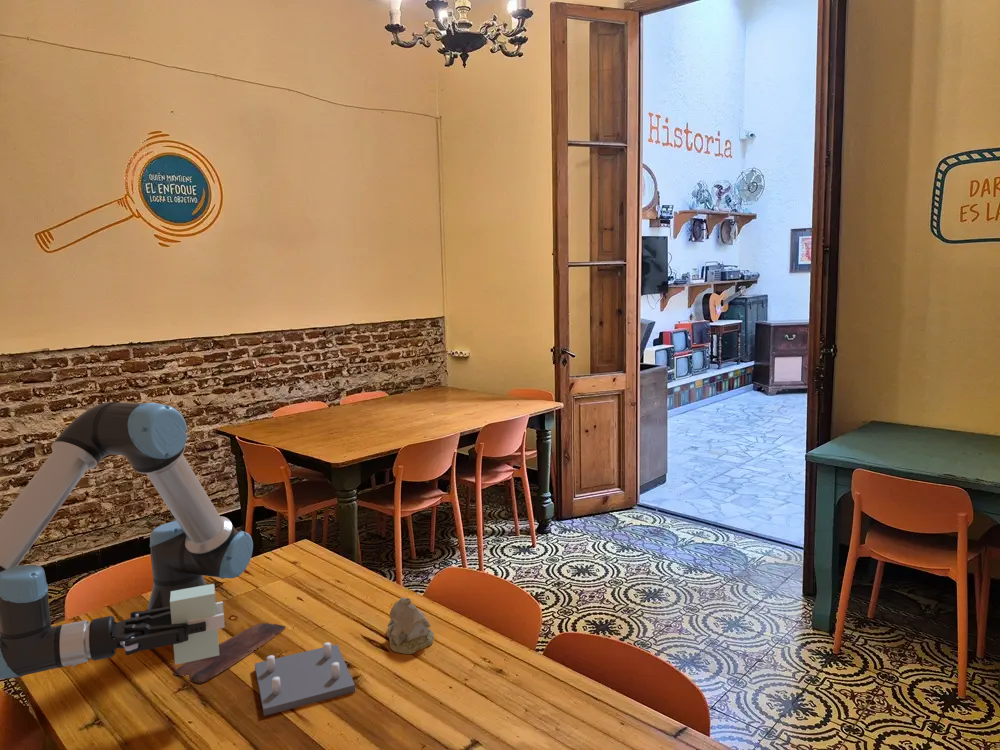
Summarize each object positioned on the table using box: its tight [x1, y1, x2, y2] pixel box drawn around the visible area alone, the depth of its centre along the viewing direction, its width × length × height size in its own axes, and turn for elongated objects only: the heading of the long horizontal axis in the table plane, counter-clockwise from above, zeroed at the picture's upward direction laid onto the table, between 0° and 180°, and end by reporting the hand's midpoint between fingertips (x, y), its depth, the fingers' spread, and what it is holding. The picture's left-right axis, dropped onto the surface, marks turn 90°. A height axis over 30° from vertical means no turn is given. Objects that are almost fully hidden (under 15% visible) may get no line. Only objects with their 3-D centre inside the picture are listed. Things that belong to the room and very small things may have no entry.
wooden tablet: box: [173, 622, 286, 684], centre depth 156 cm, size 26×2×10 cm
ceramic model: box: [386, 596, 435, 655], centre depth 159 cm, size 14×11×10 cm
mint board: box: [170, 583, 220, 666], centre depth 133 cm, size 5×8×13 cm, turn 114°
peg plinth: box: [254, 641, 356, 717], centre depth 143 cm, size 18×18×4 cm
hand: (223, 614), depth 135 cm, fingers closed on mint board, 5 cm apart
